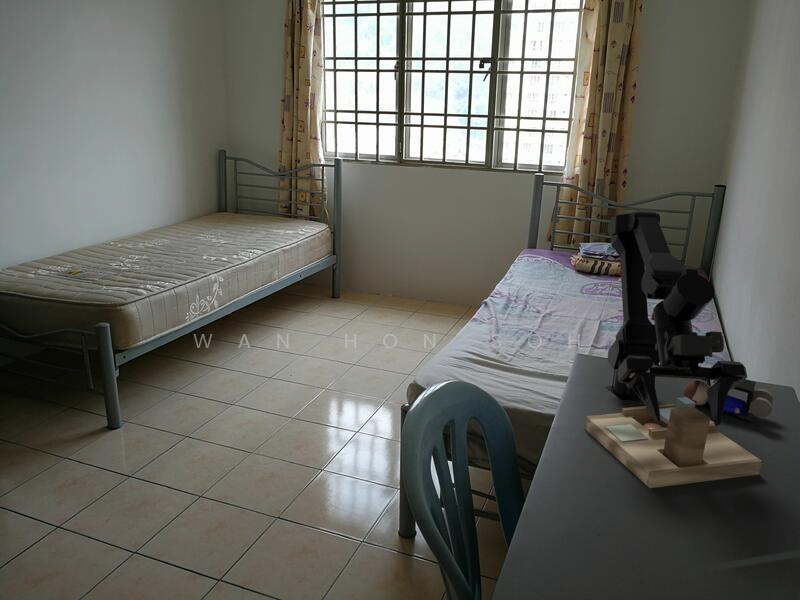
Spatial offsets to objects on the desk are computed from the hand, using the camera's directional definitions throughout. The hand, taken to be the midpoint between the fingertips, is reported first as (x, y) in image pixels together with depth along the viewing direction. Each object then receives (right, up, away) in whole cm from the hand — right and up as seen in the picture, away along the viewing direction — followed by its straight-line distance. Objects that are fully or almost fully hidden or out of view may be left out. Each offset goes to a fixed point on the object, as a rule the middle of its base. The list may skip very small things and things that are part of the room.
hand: (687, 423), depth 100 cm
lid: (+5, -2, +14) cm, 15 cm away
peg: (0, -8, +2) cm, 8 cm away
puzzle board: (0, -7, +8) cm, 11 cm away
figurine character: (+18, -3, +25) cm, 31 cm away
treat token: (0, -5, +13) cm, 14 cm away
